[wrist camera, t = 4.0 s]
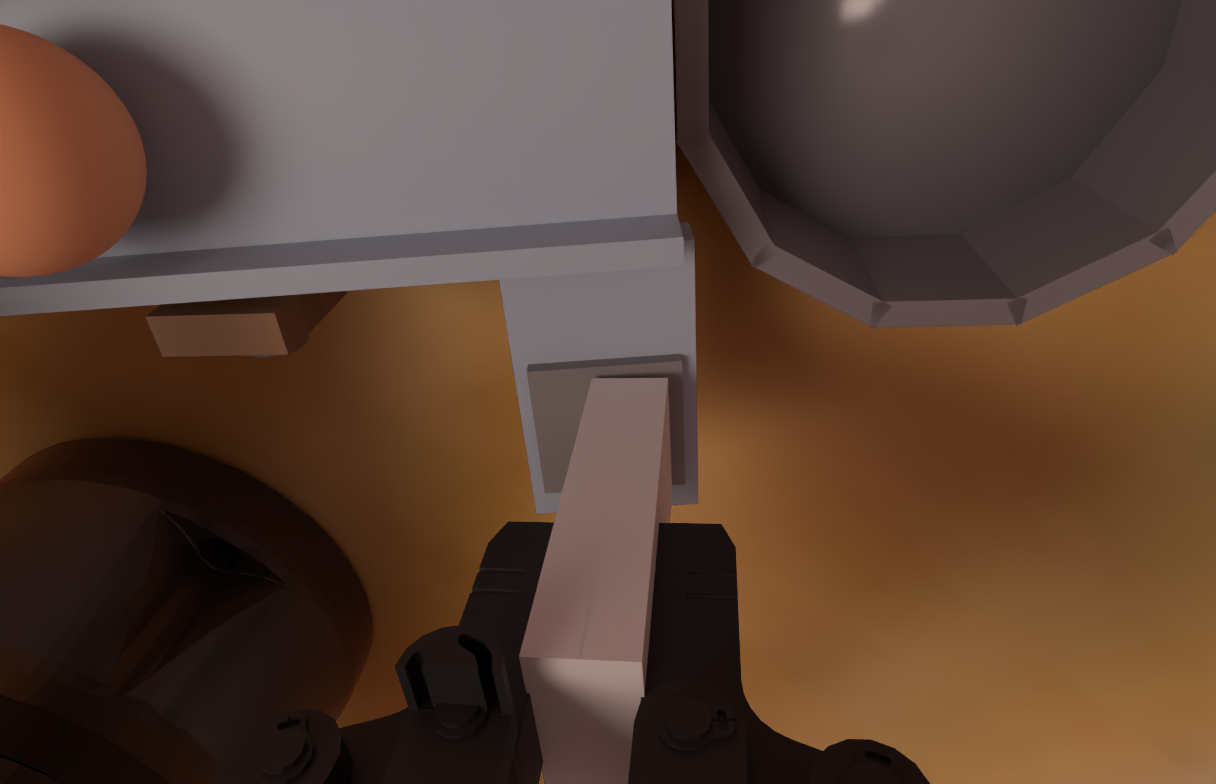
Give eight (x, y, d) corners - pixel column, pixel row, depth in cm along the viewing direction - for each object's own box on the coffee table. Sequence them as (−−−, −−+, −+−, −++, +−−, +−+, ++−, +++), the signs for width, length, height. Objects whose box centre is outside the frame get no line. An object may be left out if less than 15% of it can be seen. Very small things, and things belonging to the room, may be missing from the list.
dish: (683, 257, 21) (681, 332, 17) (671, -283, 15) (663, -357, 11) (1124, 242, 19) (1231, 320, 15) (1303, -360, 13) (1546, -475, 10)
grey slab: (11, 519, 18) (-88, 617, 15) (-339, -30, 12) (-596, -22, 9) (693, 475, 17) (709, 568, 15) (682, -121, 11) (706, -137, 9)
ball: (-80, 342, 10) (206, 263, 11) (-263, 45, 8) (110, 7, 10) (-79, 273, 12) (156, 216, 14) (-220, 33, 10) (72, 4, 12)
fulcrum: (117, 237, 22) (-169, 390, 15) (-39, -127, 17) (-569, -167, 10) (664, 214, 20) (648, 379, 13) (650, -202, 15) (610, -319, 8)
